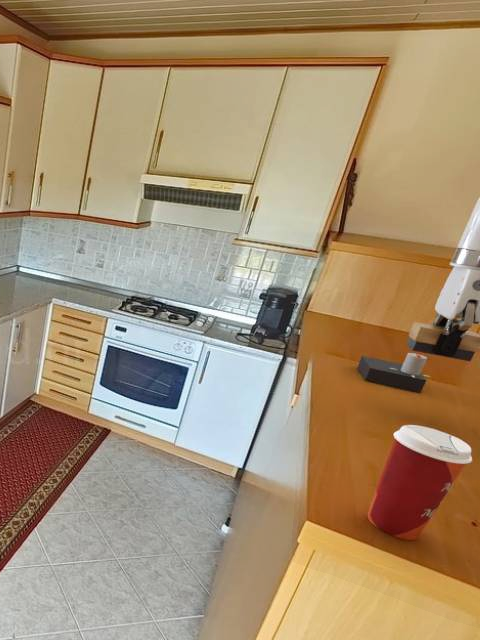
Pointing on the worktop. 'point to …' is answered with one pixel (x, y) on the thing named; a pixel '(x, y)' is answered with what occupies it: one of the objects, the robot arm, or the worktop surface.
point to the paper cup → (416, 479)
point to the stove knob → (413, 364)
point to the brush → (427, 336)
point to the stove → (389, 374)
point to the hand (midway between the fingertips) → (438, 350)
